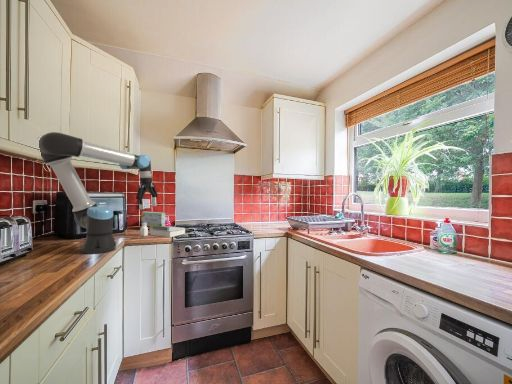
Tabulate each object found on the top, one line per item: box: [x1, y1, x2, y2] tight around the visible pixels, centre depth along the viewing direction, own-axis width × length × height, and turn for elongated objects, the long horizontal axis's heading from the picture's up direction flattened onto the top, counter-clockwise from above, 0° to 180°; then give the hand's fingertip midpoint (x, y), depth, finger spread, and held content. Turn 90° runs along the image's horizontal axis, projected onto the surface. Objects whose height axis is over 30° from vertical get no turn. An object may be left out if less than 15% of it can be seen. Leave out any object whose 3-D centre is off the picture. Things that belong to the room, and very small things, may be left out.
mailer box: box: [149, 228, 186, 238], centre depth 171 cm, size 16×20×4 cm
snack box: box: [140, 211, 166, 231], centre depth 192 cm, size 21×6×15 cm, turn 73°
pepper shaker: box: [139, 223, 149, 237], centre depth 163 cm, size 4×4×10 cm
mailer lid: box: [149, 225, 186, 232], centre depth 171 cm, size 16×20×3 cm
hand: (148, 207), depth 158 cm, fingers open, 13 cm apart
